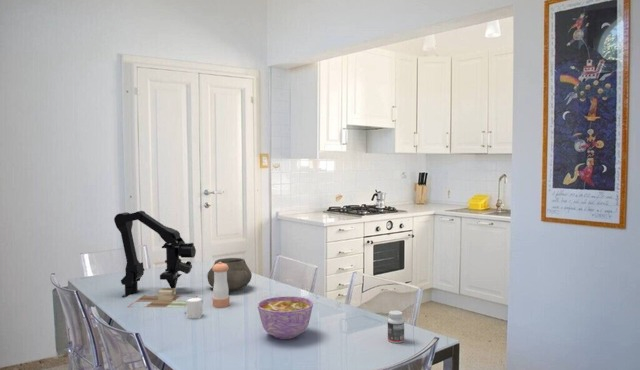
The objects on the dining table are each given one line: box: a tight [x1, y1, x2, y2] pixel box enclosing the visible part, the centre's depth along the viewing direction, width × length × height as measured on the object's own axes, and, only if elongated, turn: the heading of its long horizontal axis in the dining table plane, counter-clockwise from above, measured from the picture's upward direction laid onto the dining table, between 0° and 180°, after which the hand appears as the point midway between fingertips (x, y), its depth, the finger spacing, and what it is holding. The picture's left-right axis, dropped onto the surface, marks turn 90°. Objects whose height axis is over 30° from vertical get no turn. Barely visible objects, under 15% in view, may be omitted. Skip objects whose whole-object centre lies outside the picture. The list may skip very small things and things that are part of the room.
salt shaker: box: [211, 262, 231, 308], centre depth 224 cm, size 7×7×19 cm
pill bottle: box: [387, 310, 405, 344], centre depth 178 cm, size 6×6×10 cm
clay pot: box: [206, 257, 253, 292], centre depth 250 cm, size 22×21×15 cm
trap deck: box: [127, 295, 198, 308], centre depth 227 cm, size 18×26×2 cm
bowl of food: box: [257, 295, 314, 340], centre depth 185 cm, size 20×20×12 cm
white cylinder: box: [185, 297, 204, 320], centre depth 209 cm, size 7×7×7 cm
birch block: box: [157, 287, 177, 300], centre depth 231 cm, size 6×6×4 cm
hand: (173, 290), depth 240 cm, fingers closed
